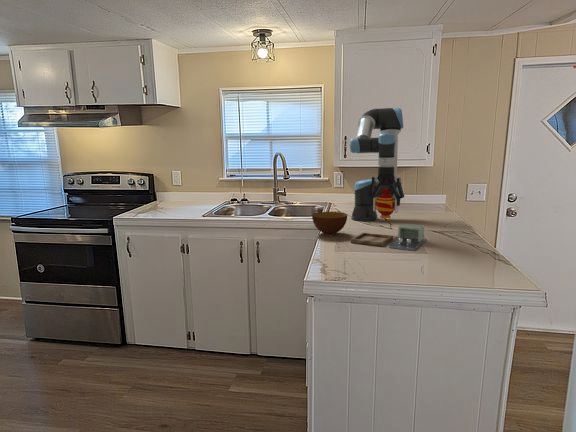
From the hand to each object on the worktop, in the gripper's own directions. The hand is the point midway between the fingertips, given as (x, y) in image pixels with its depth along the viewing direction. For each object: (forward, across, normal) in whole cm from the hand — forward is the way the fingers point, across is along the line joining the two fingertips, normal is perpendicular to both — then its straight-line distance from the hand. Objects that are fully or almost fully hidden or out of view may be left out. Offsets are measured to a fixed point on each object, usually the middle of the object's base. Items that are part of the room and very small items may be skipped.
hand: (385, 211), depth 199 cm
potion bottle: (+3, 0, 0) cm, 3 cm away
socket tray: (+11, -1, -16) cm, 19 cm away
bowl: (+12, -25, -12) cm, 30 cm away
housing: (+10, +15, -9) cm, 20 cm away
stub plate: (+11, +15, -14) cm, 23 cm away
